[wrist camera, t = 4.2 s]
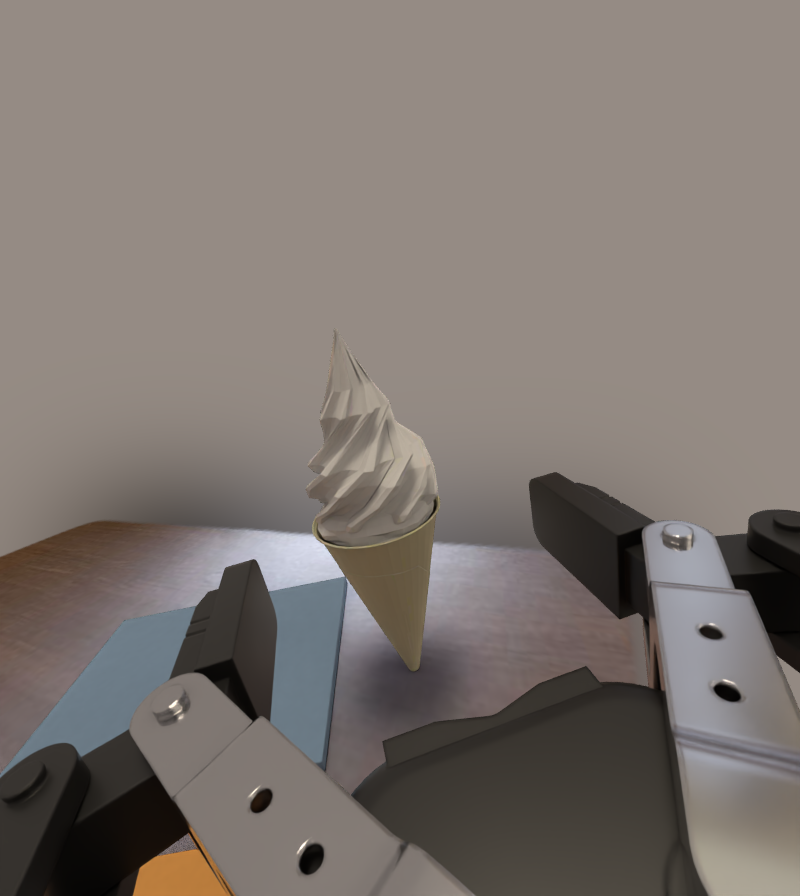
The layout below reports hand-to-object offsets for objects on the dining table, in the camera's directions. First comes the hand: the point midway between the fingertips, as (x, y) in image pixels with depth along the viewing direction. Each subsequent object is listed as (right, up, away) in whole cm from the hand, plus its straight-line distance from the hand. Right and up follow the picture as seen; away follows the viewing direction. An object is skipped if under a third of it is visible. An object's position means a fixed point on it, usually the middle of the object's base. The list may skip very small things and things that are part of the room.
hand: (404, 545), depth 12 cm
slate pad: (-10, -9, +9) cm, 16 cm away
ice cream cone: (+1, -7, +7) cm, 10 cm away
